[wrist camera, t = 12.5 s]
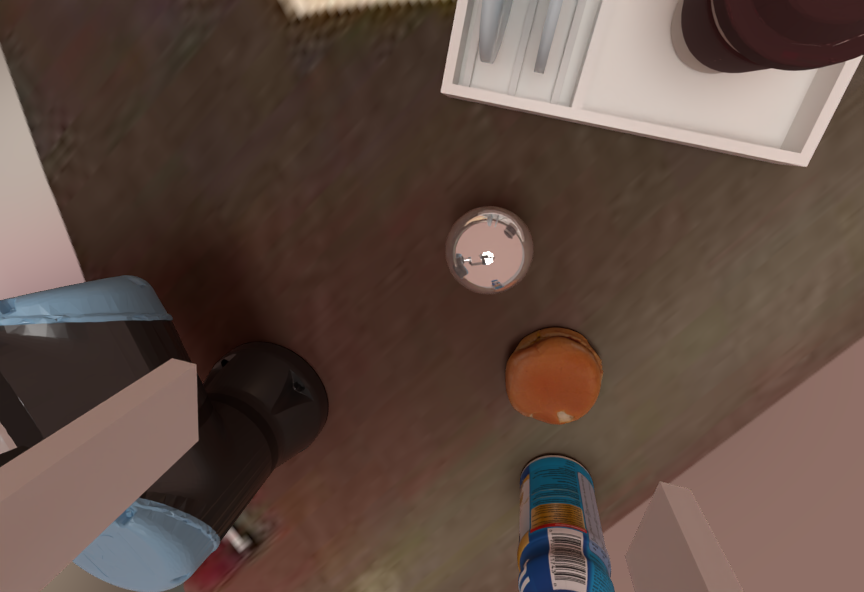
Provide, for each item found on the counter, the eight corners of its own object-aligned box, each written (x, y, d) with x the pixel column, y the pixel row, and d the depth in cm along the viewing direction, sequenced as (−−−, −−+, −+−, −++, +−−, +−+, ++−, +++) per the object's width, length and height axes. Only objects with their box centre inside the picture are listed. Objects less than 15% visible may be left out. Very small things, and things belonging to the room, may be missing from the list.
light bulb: (456, 196, 42) (432, 217, 30) (530, 190, 40) (533, 209, 29) (463, 266, 44) (442, 309, 33) (533, 262, 42) (536, 306, 31)
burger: (560, 308, 43) (564, 327, 39) (618, 373, 44) (627, 399, 40) (486, 361, 47) (482, 383, 43) (541, 420, 48) (542, 448, 44)
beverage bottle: (610, 483, 49) (661, 691, 30) (557, 520, 52) (575, 729, 34) (553, 438, 48) (570, 622, 30) (504, 479, 52) (492, 667, 33)
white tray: (448, 96, 39) (440, 92, 35) (497, -158, 32) (493, -197, 28) (777, 164, 35) (806, 166, 32) (906, -105, 29) (961, -141, 25)
